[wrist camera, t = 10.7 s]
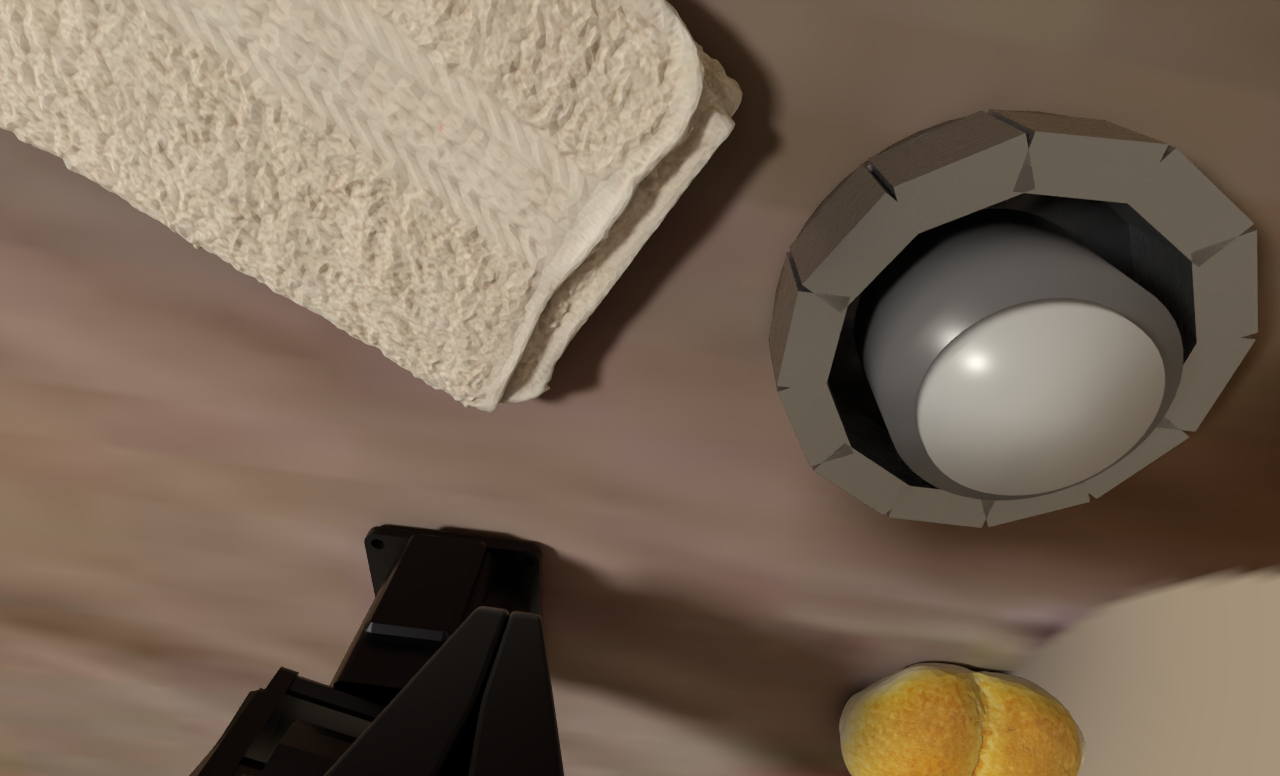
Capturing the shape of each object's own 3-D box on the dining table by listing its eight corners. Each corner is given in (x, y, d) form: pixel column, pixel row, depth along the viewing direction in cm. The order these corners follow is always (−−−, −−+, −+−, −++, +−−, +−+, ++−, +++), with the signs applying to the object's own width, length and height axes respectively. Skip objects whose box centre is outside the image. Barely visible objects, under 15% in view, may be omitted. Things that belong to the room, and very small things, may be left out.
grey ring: (1072, 477, 21) (1121, 543, 19) (745, 440, 21) (751, 501, 19) (1264, 133, 15) (1370, 164, 13) (817, 90, 16) (838, 111, 13)
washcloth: (533, 395, 22) (510, 453, 19) (-62, 48, 17) (-198, 62, 15) (771, 63, 16) (785, 81, 13) (-27, -579, 12) (-239, -740, 9)
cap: (1036, 419, 20) (1116, 527, 16) (832, 398, 20) (862, 500, 16) (1131, 220, 16) (1261, 296, 13) (886, 197, 16) (942, 265, 13)
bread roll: (864, 640, 26) (888, 738, 23) (1088, 672, 26) (1145, 776, 23) (811, 753, 31) (824, 849, 27) (1003, 780, 31) (1040, 881, 27)
